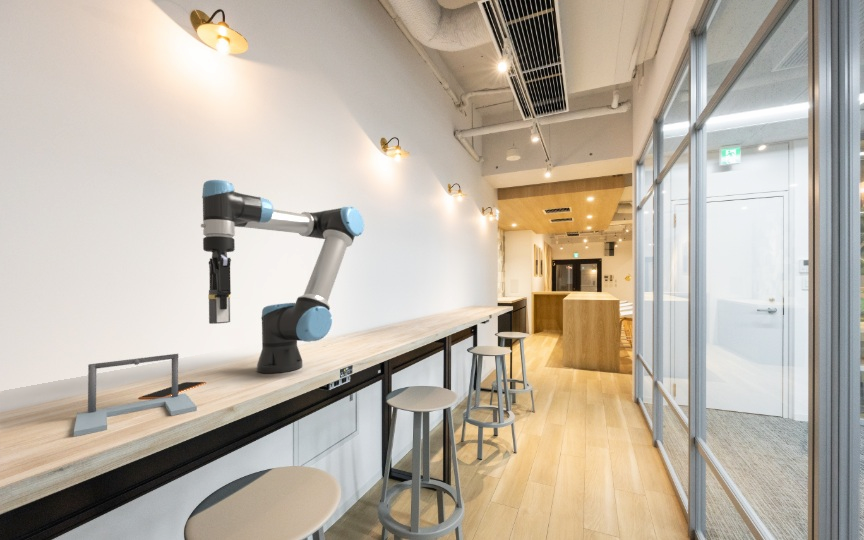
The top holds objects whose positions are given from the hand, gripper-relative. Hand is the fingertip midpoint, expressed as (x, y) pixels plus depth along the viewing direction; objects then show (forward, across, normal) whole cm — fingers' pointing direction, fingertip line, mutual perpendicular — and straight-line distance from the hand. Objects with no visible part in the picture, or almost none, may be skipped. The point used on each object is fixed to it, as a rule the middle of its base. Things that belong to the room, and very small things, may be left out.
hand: (220, 321), depth 100 cm
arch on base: (+20, +2, -18) cm, 27 cm away
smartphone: (+21, -17, -8) cm, 28 cm away
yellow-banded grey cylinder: (0, 0, 0) cm, 0 cm away
